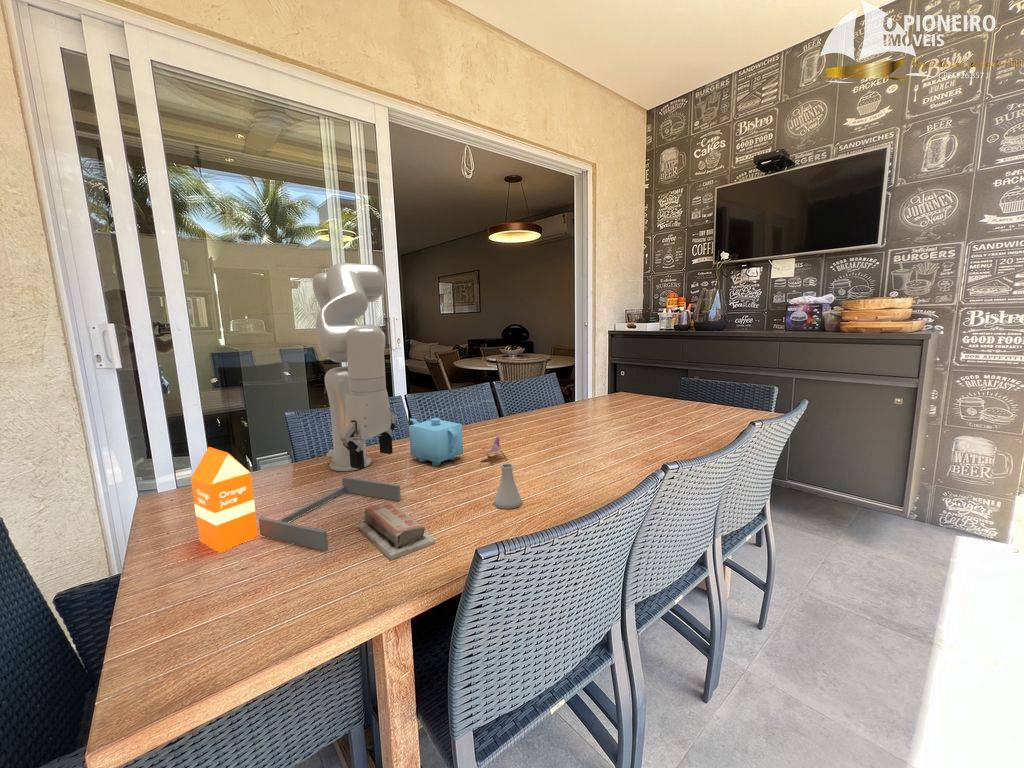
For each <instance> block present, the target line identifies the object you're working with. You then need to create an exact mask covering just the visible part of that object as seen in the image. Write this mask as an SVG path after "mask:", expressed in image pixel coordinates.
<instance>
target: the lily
mask: <svg viewBox="0 0 1024 768" xmlns="http://www.w3.org/2000/svg"><path fill="white" fill-rule="evenodd" d="M505 431H506V430H504V431H503V432H502V433H501V435H500V434H498V435H497V436H496V438H495V439H494V441H493V442H489V443H488V445H490V446H491V448H490V450H488V451H487V452H486V453H484V454H483V457H482V458H481V460H480V462H479V463H481V461H482V460H483V459H484V458H485V456H489V455H490V454H491V453H494V452H500V453H501V454H502V455H503V457H504V458H505V460H506V461H508V458H507V457H506V455H505V454H504V452H503V451H502V450H501V449H500V448H501V447H500V440H501V438H502V436H503V435H504V433H505Z"/></svg>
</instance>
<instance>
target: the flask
mask: <svg viewBox="0 0 1024 768" xmlns="http://www.w3.org/2000/svg"><path fill="white" fill-rule="evenodd" d="M500 468H501V477H500V482H499V486H498V489H497V492H496V495H495V497H494V500H493V504H494V505H495V507H496V508H497V509H508V510H509V509H514V508H520V507H521V505H522V503H523V500H522V497H521V496H520V495H521V494H520V491H519V490H518V487H517V484H516V481H515V479H514V472H513V469H514V464H512V463H507V462H505V463H502V464H500Z"/></svg>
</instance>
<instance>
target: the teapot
mask: <svg viewBox="0 0 1024 768" xmlns="http://www.w3.org/2000/svg"><path fill="white" fill-rule="evenodd" d="M409 420H410V421H411V423H412V424H409V426H408V430H409V432H408V434H409V447H410V448H409V450H410V456H412V457H415V458H418V462H420V463H423V462H426V461H430V462H432V464H431V465H432V466H433V467H434V466H435V467H436V466H437V467H438V466H441V465H442V463H441V462H444V461H448V460H449V461H454V460H456V458H457V457H458V456H460V455H463V454H464V446H463V444H464V443H463V424H462V423H457V422H454V421H448V420H443V419H441V418H438V417H433V418H431V419H428V420H425V421H422V422H419V421H418V419H416V418H409Z"/></svg>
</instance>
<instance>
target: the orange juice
mask: <svg viewBox="0 0 1024 768" xmlns="http://www.w3.org/2000/svg"><path fill="white" fill-rule="evenodd" d="M190 480H191V481H190V482H191V487H192V495H193V501H194V504H193V505H194V510H195V511H194V512H195V516H196V523H197V528H198V538H199V542H200V541H201V542H202V543H201V542H200V543H201V544H203V543H204V544H206V545H208V546H210V547H211V548H213V549H214V550H213V549H212V550H213V551H215V550H216V551H215V552H217V551H218V552H222V553H224V552H226V551H225V550H227V549H229V550H231V549H233V548H232V547H234V546H236V547H238V546H240V545H239V544H241V543H243V544H245V543H246V542H245V541H248V540H250V539H252V538H255V537H256V536H258V537H259V535H258V534H259V533H258V524H257V516H256V506H255V499H254V498H255V497H254V492H253V491H254V490H253V483H252V473H251V471H249V469H247V468H246V467H244V465H243V464H241V463H240V462H239V461H238V460H237V459H235V458H234V456H232V455H231V454H230V453H229V452H227V451H224V450H220V449H217V448H214V447H211V446H208V447H207V449H206V451H205V452H204V454H203V456H202V457H201V459H200V460H199V463H198V465H197V467H196V468H195V470H194V472H193V474H192V475H191V476H190ZM255 539H256V538H255ZM252 540H253V539H252ZM250 541H251V540H250ZM244 542H245V543H244ZM248 542H249V541H248ZM204 544H203V545H204ZM206 545H205V546H206ZM237 545H238V546H237ZM241 545H242V544H241ZM208 546H207V547H208ZM210 547H209V548H210ZM211 548H210V549H211ZM230 548H231V549H230ZM234 548H235V547H234ZM223 551H224V552H223ZM227 551H228V550H227ZM218 552H217V553H218Z"/></svg>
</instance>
